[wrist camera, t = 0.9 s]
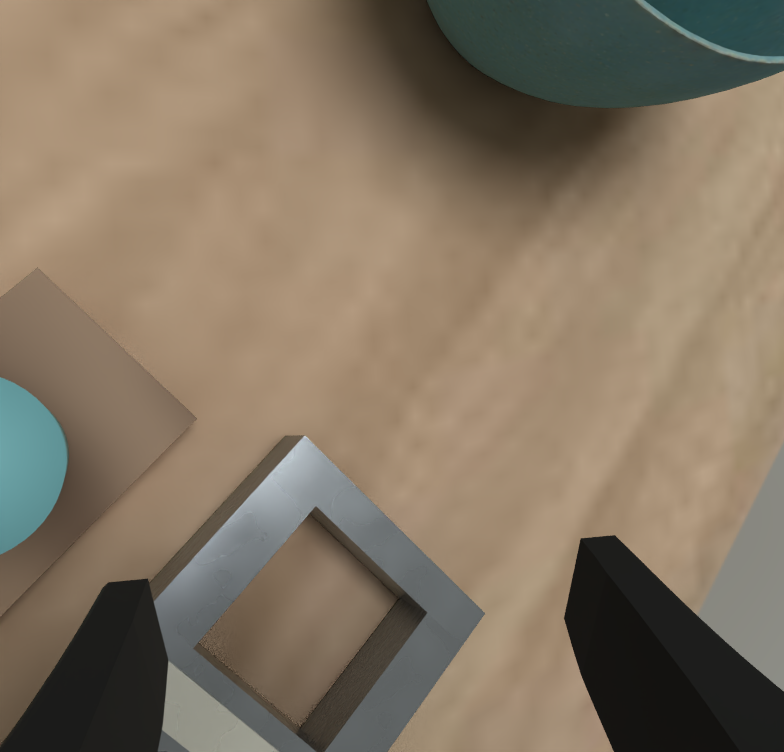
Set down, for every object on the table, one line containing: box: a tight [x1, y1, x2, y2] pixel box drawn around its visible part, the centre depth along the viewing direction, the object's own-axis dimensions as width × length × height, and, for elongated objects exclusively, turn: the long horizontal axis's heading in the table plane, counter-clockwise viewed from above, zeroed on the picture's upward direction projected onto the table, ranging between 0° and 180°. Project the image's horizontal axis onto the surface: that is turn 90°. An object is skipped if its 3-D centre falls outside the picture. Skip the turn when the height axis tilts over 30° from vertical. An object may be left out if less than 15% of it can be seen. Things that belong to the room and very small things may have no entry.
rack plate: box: [0, 436, 485, 752], centre depth 24 cm, size 17×10×3 cm, turn 137°
